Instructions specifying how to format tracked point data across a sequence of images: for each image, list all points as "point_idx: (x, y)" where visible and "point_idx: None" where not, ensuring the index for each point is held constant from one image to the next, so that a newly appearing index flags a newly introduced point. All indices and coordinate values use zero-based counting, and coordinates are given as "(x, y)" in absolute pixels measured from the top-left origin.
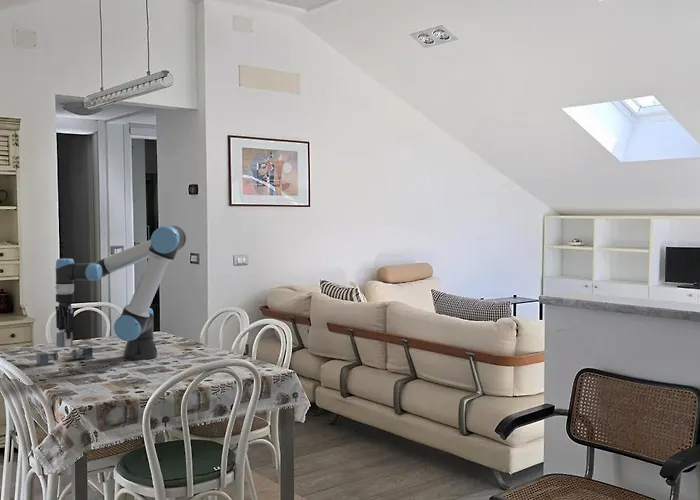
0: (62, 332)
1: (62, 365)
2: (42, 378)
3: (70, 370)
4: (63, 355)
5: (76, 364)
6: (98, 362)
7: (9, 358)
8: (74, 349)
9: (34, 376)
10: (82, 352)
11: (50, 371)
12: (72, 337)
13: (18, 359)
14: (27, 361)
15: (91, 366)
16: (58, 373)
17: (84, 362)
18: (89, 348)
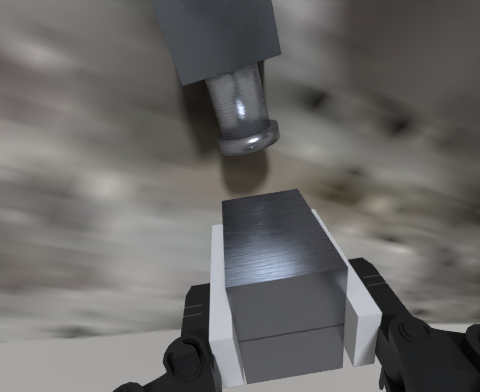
0: (252, 344)
1: (322, 212)
2: (475, 311)
3: (451, 213)
4: (19, 129)
5: (351, 151)
6: (403, 10)
7: (24, 337)
8: (248, 147)
9: (425, 322)
10: (260, 80)
11: (398, 274)
12: (325, 232)
13: (64, 318)
14: (132, 300)
15: (466, 101)
16: (457, 261)
17: (333, 94)
18: (271, 7)
